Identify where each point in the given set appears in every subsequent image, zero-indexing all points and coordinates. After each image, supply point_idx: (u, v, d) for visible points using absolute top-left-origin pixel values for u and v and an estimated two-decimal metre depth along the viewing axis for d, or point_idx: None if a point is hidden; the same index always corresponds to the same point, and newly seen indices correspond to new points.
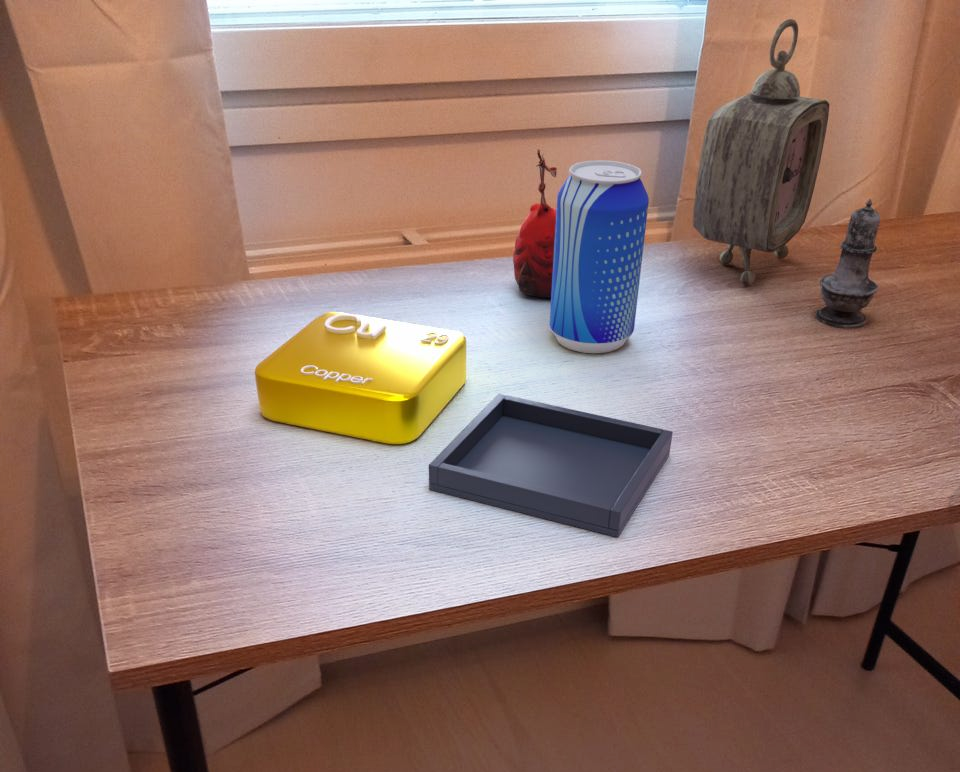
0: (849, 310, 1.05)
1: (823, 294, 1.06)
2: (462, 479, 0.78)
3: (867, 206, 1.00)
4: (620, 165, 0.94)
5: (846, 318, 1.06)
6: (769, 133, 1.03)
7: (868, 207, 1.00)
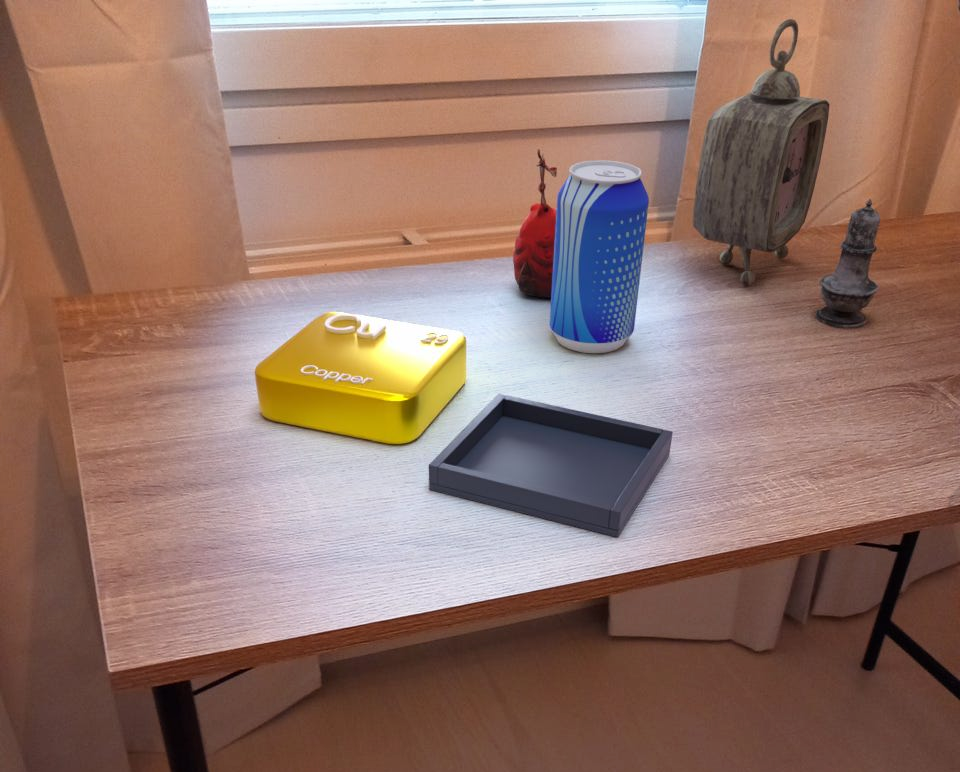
0: (849, 310, 1.05)
1: (823, 294, 1.06)
2: (462, 479, 0.78)
3: (867, 206, 1.00)
4: (620, 165, 0.94)
5: (846, 318, 1.06)
6: (769, 132, 1.03)
7: (868, 207, 1.00)
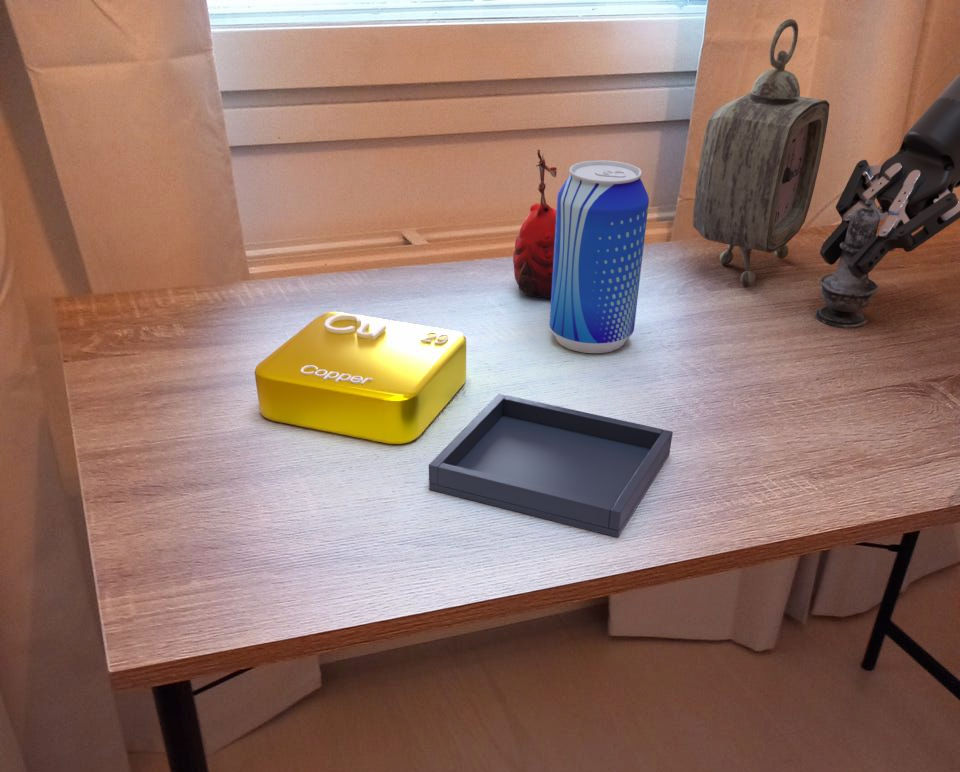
0: (849, 310, 1.05)
1: (823, 294, 1.06)
2: (462, 479, 0.78)
3: (867, 206, 1.00)
4: (620, 165, 0.94)
5: (846, 318, 1.06)
6: (769, 132, 1.03)
7: (868, 207, 1.00)
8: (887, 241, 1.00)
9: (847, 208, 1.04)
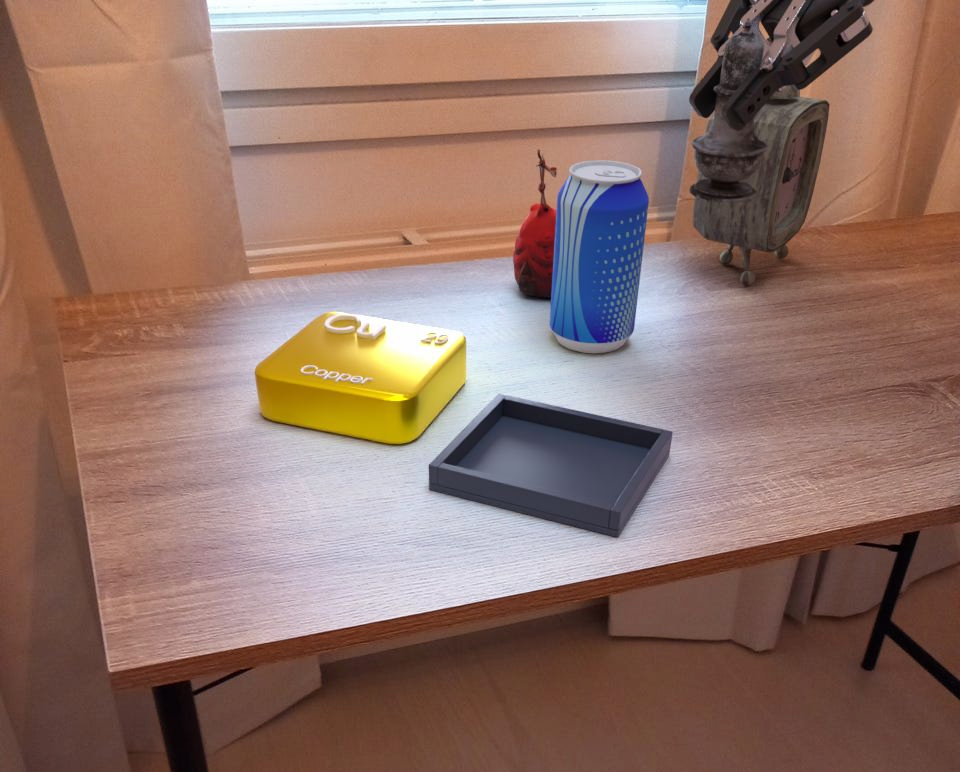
0: (729, 178, 0.79)
1: (696, 158, 0.79)
2: (462, 479, 0.78)
3: (745, 29, 0.74)
4: (620, 165, 0.94)
5: (728, 190, 0.80)
6: (769, 132, 1.03)
7: (746, 30, 0.74)
8: (772, 75, 0.74)
9: (725, 40, 0.78)
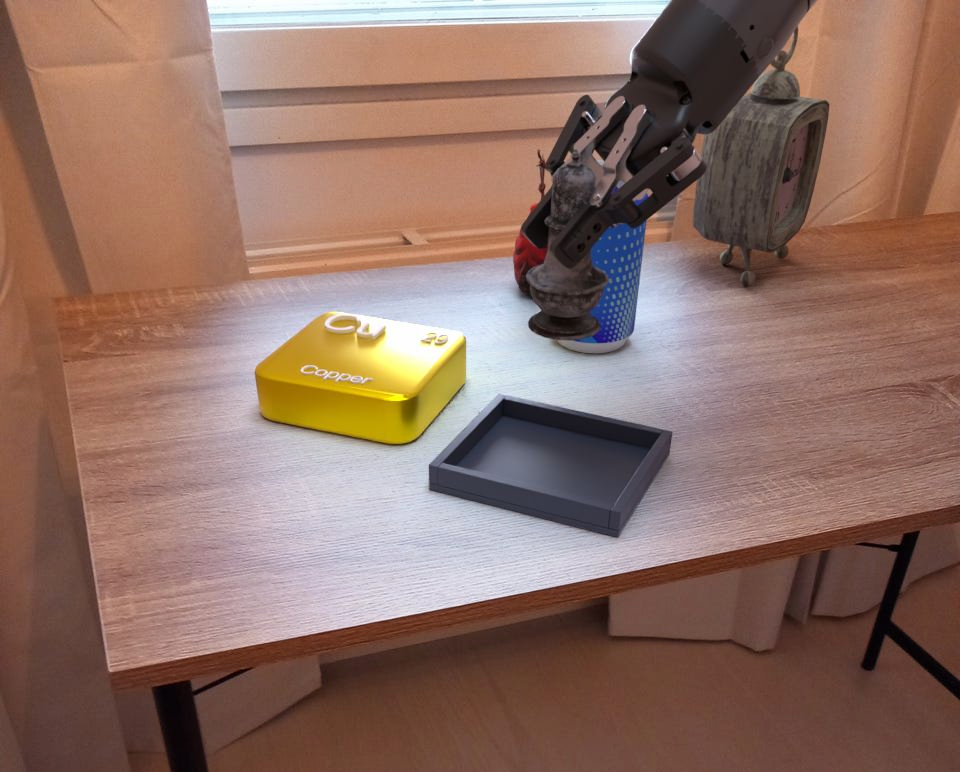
0: (566, 315, 0.72)
1: (531, 292, 0.73)
2: (462, 479, 0.78)
3: (573, 160, 0.67)
4: None
5: (567, 326, 0.73)
6: (769, 132, 1.03)
7: (574, 162, 0.67)
8: (602, 213, 0.67)
9: (561, 165, 0.71)
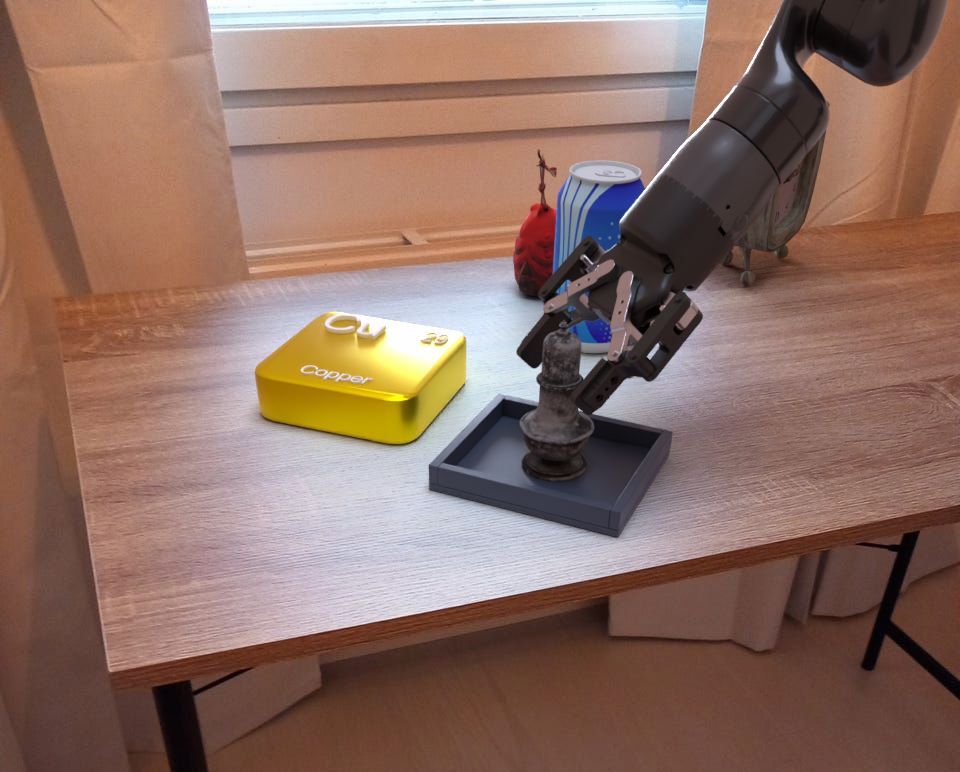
0: (556, 459, 0.79)
1: (524, 437, 0.80)
2: (462, 479, 0.78)
3: (561, 329, 0.75)
4: (620, 165, 0.94)
5: (557, 467, 0.81)
6: None
7: (562, 330, 0.75)
8: (619, 368, 0.72)
9: (552, 295, 0.80)
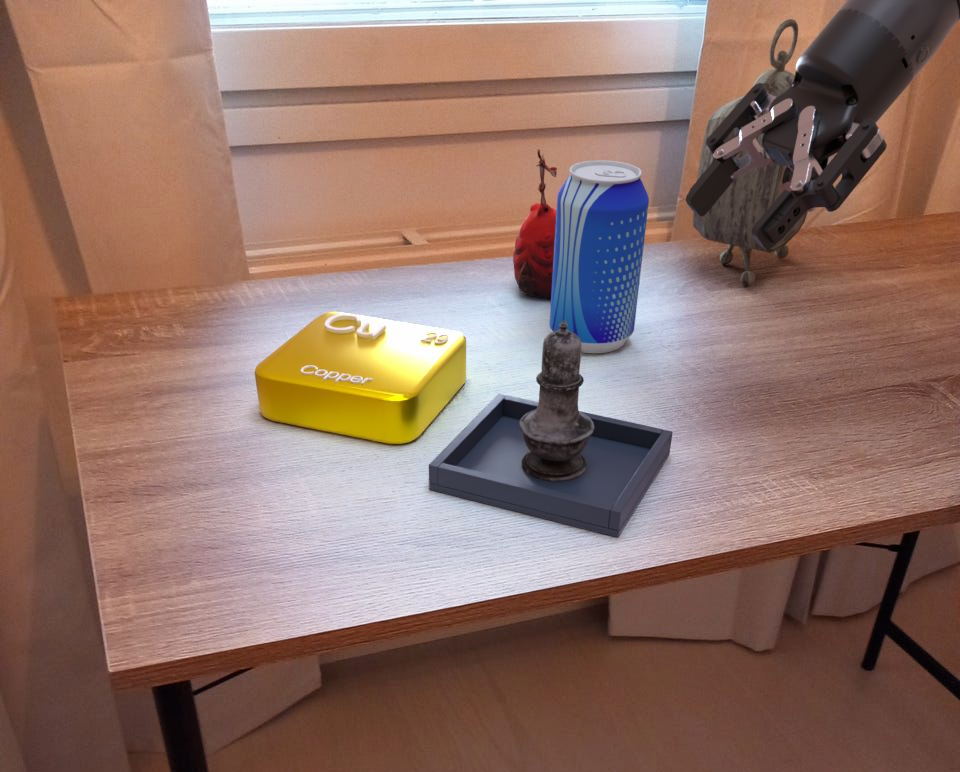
0: (556, 459, 0.79)
1: (523, 437, 0.80)
2: (462, 479, 0.78)
3: (561, 329, 0.75)
4: (620, 165, 0.94)
5: (557, 467, 0.81)
6: None
7: (562, 330, 0.75)
8: (803, 198, 0.74)
9: (720, 143, 0.82)
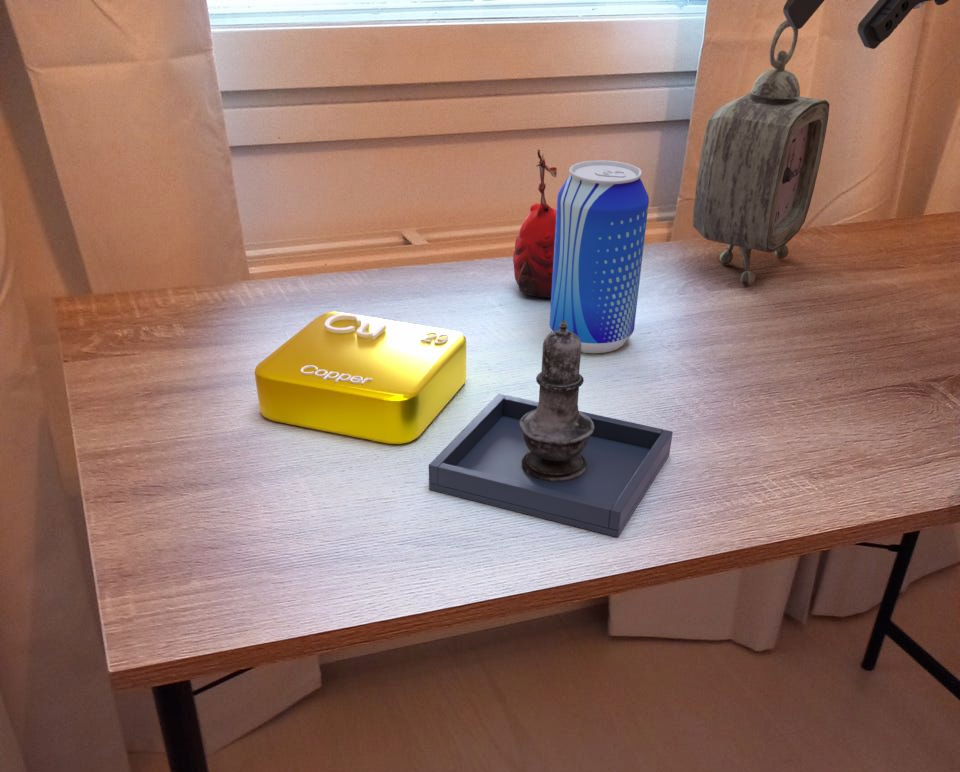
0: (556, 459, 0.79)
1: (523, 437, 0.80)
2: (462, 479, 0.78)
3: (561, 329, 0.75)
4: (620, 165, 0.94)
5: (557, 467, 0.81)
6: (769, 133, 1.03)
7: (562, 330, 0.75)
8: None
9: None
